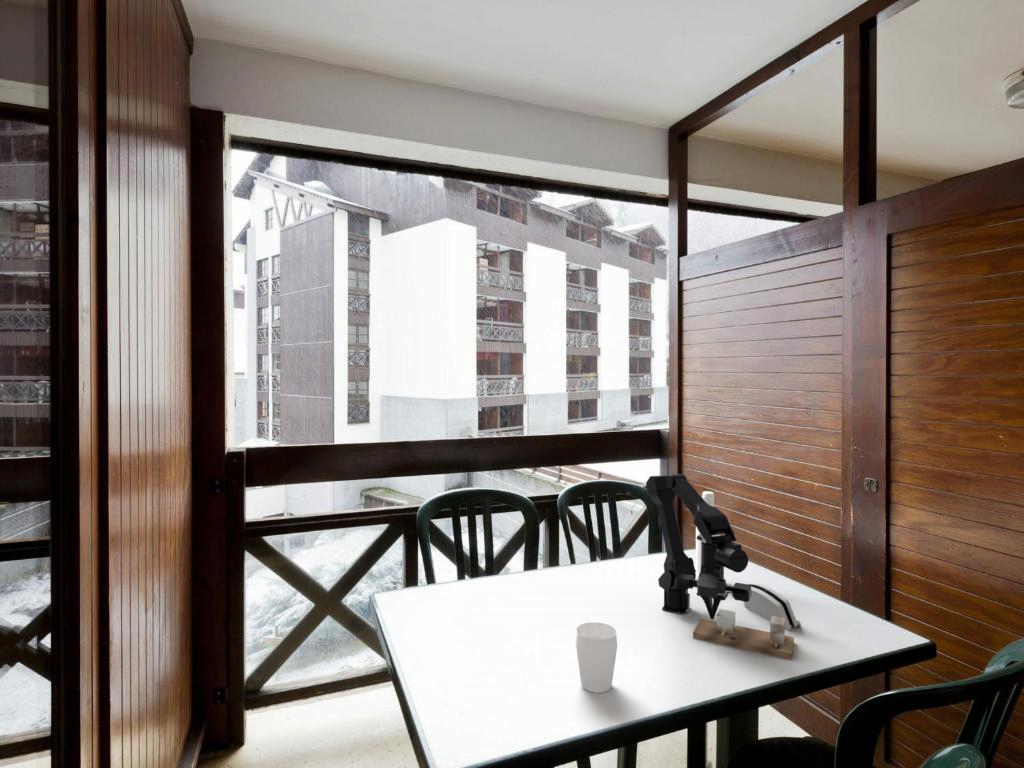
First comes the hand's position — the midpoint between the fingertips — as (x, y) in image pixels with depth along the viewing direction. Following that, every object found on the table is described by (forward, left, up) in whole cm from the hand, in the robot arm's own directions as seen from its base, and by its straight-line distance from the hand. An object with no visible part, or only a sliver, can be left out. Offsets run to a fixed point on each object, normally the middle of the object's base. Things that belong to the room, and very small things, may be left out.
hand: (712, 619), depth 151 cm
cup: (-17, -40, -4) cm, 44 cm away
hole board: (+8, -1, -4) cm, 9 cm away
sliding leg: (+3, -1, -2) cm, 4 cm away
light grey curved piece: (+12, +18, -4) cm, 22 cm away
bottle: (-8, +38, -4) cm, 39 cm away
